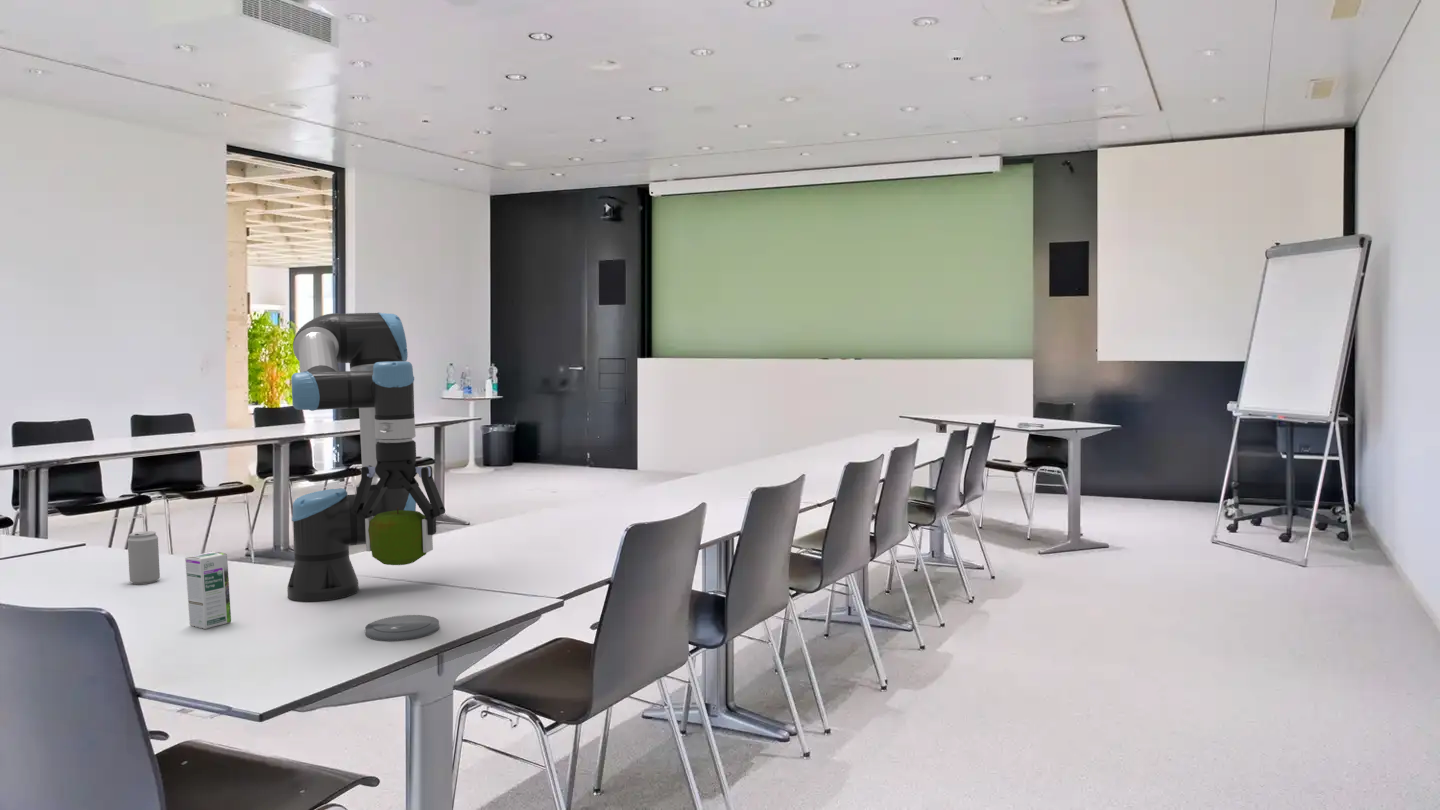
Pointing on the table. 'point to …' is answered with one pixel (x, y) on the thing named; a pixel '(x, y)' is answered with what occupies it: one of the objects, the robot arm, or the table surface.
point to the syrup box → (208, 589)
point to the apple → (397, 537)
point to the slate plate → (402, 627)
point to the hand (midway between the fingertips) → (399, 550)
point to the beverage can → (143, 557)
